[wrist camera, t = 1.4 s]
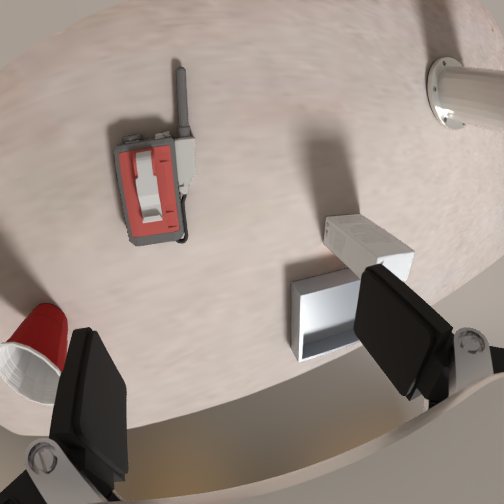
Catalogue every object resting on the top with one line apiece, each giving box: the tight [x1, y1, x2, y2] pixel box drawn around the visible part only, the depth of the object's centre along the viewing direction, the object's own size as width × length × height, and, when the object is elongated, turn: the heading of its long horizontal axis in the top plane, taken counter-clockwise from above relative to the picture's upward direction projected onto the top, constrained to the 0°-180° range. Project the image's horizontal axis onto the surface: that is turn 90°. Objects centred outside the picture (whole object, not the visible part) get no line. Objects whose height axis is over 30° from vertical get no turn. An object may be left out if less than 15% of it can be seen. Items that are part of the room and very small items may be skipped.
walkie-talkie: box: [114, 67, 197, 246], centre depth 29 cm, size 9×4×20 cm
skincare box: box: [323, 214, 415, 281], centre depth 36 cm, size 6×4×12 cm
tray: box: [291, 268, 361, 363], centre depth 47 cm, size 16×14×4 cm
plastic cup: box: [0, 303, 68, 405], centre depth 30 cm, size 11×11×12 cm
